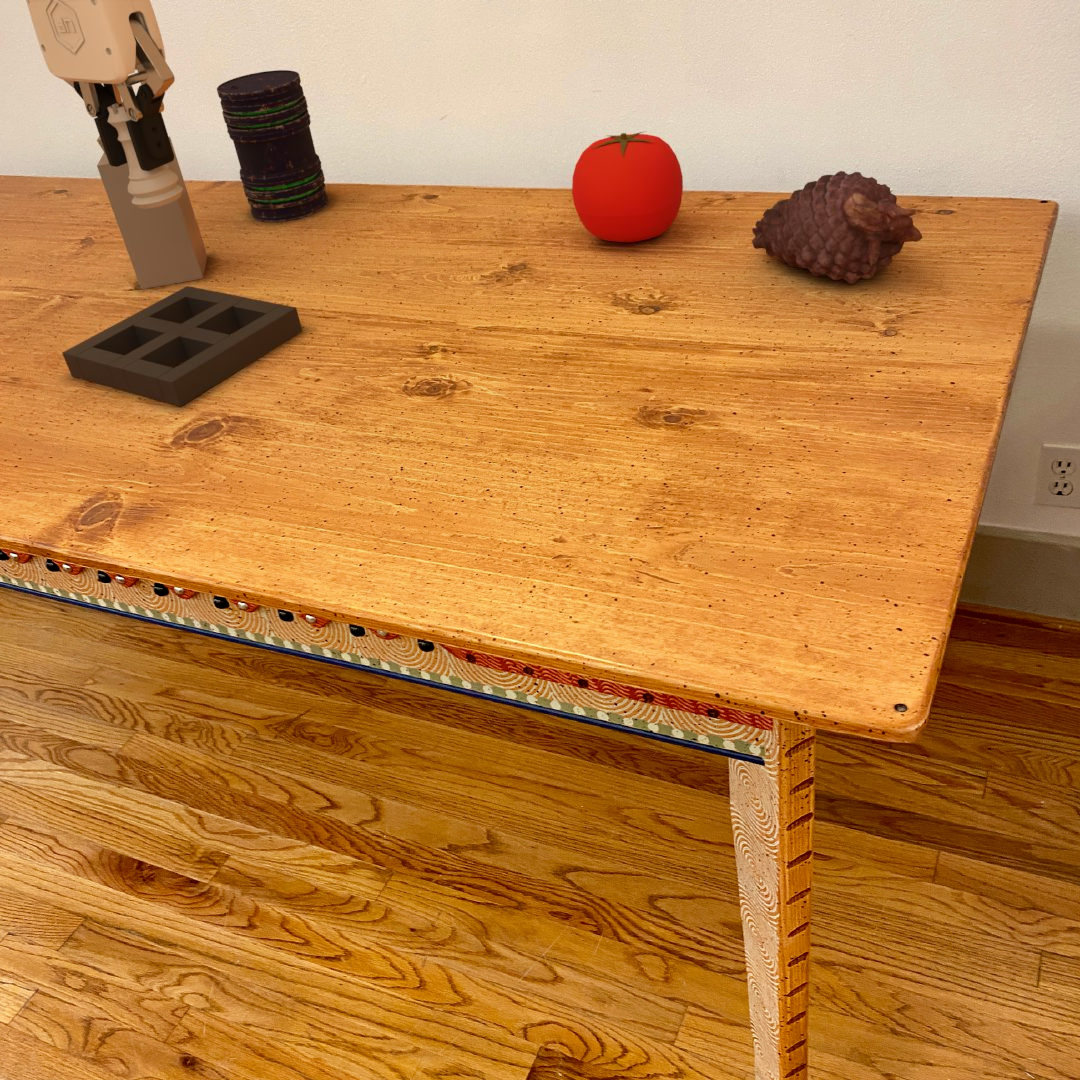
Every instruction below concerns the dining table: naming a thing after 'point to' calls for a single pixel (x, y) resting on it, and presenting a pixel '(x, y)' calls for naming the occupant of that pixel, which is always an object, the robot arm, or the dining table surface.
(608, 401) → the dining table surface
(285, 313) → the holder
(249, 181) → the dark purple cylinder
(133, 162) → the rook chess piece
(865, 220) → the pine cone
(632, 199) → the tomato
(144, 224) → the perfume bottle
